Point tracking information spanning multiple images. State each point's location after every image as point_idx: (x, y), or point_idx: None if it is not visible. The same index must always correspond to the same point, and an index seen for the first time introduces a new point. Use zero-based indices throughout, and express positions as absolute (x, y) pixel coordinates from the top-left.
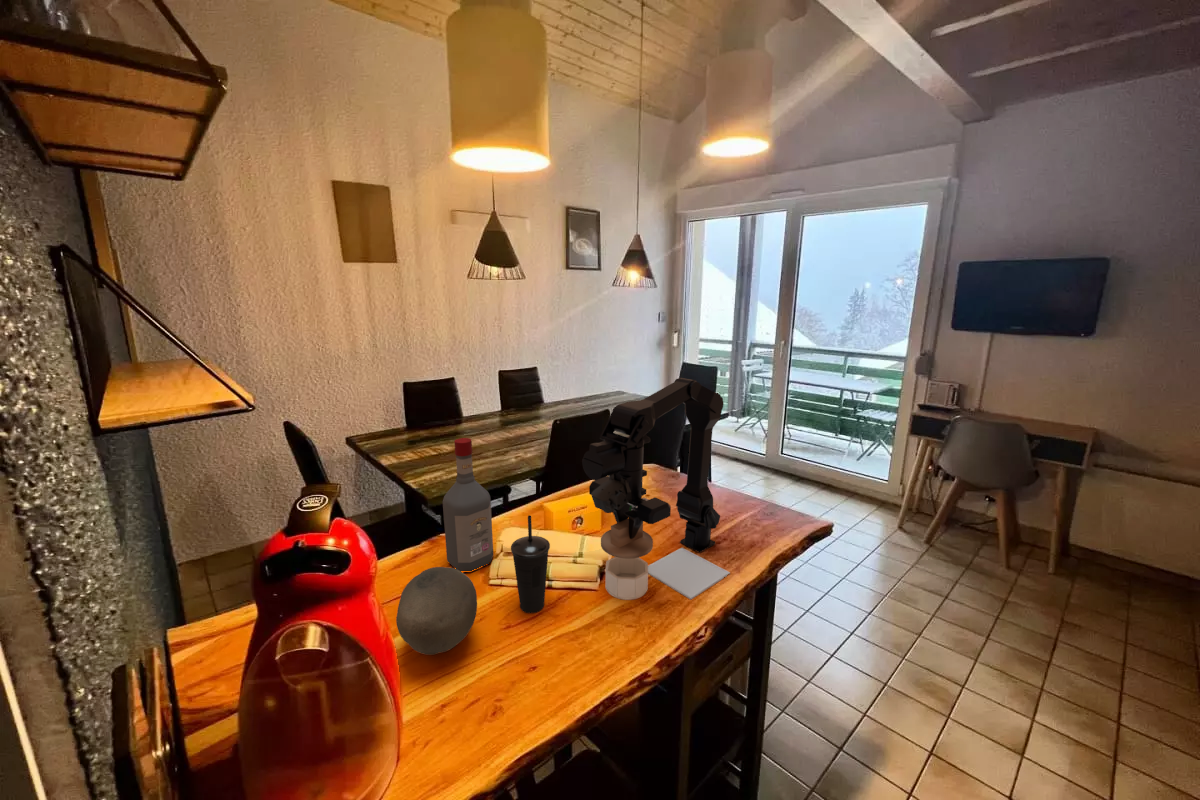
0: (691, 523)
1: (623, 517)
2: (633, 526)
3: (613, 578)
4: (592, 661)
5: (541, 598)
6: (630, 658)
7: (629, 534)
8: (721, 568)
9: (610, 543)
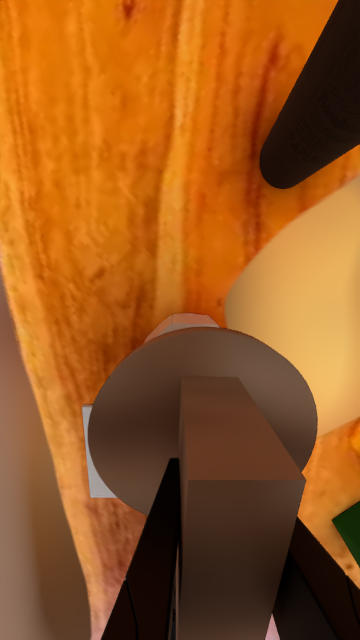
0: None
1: (299, 631)
2: (116, 607)
3: (186, 321)
4: (66, 138)
5: (274, 138)
6: (29, 206)
7: (176, 482)
8: (107, 496)
9: (237, 375)
